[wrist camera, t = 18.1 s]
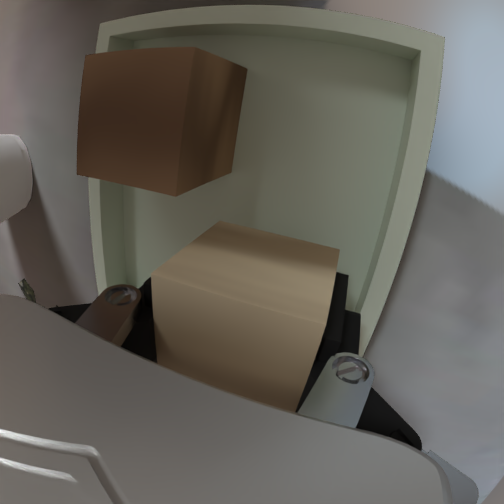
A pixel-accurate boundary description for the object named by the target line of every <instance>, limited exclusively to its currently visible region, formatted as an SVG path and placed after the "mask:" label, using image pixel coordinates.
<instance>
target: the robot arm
mask: <svg viewBox="0 0 504 504" xmlns="http://www.w3.org/2000/svg"><path fill="white" fill-rule="evenodd" d="M348 279H349V275H346V274H343V273H339V272H336V276H335V282H334V287H333V293H332V298H331V303H330V308H329V313H328V318H327V323H326V327H325V330H324V333H323V336H322V339H321V342H320V345H319V348H318V351H317V354H316V357H315V360H314V362H313V365H312V368H311V371H310V374H309V376H308V379H307V382H306V384H305V387H304V390H303V392H302V395H301V398H300V400H299V403H298V405H297V408H296V411H295V412H292V411H288V410H285V409H281V408H278V407H274V406H271V405H268V404H265V403H261V402H258V401H255V400H252V399H249V398H246V397H243V396H240V395H237V394H234V393H231V392H228V391H226V390H223V389H220V388H217V387H215V386H212V385H209V384H206V383H204V382H201V381H199V380H196V379H193V378H191V377H188V376H186V375H183V374H181V373H178V372H176V371H174V370H171V369H169V368H166V367H164V366H162V365H159V364H158V363H157V354H156V343H155V331H154V318H153V304H152V286H151V277H150V278H148V279H147V280H146V281H145V282H144V284H143V285H142V286H141V287H140V288H136V287H134V286H131V285H126V284H118V285H113V286H110V287H108V288H106V289H105V290H104V291H103V292H102V293H101V294H100V295H99V296H98V297H97V298H96V299H95V301H94V302H93V303H89V304H81V305H72V306H63V307H54V308H49V309H47V308H45V307H43V306H41V305H39V304H37V303H35V302H33V301H30V300H28V299H25V298H22V297H18V296H13V295H7V294H0V504H476V503H477V500H478V497H479V493H478V488H477V486H476V484H475V482H474V481H473V480H472V479H470V478H469V477H467V476H466V475H465V474H463V473H462V472H460V471H459V470H457V469H456V468H455V467H453V466H452V465H450V464H449V463H448V462H446V461H445V460H443V459H442V458H441V457H439V456H438V455H436V454H435V453H434V452H432V451H431V450H430V451H429V452H428V453H427V452H425V451H424V450H423V449H422V443H421V440H420V437H419V436H418V434H417V433H416V432H415V431H414V430H413V429H412V428H411V427H410V426H409V425H408V424H407V423H406V422H405V421H404V420H403V419H402V418H401V417H400V416H399V414H398V413H397V412H396V411H395V410H394V409H393V408H392V407H391V406H390V405H389V404H388V403H387V402H386V401H385V400H384V399H383V398H382V397H381V396H380V395H379V394H378V393H377V392H376V391H375V390H374V389H373V388H372V387H371V386H372V383H373V380H374V374H375V373H374V369H373V367H372V366H371V364H370V363H369V362H368V361H367V360H366V359H365V358H363V357H361V356H359V342H360V325H361V314H360V313H357V312H353V311H349V310H345V307H346V298H347V289H348Z"/></svg>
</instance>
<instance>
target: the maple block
mask: <svg viewBox="0 0 504 504" xmlns="http://www.w3.org/2000/svg"><path fill="white" fill-rule="evenodd" d="M339 253H340V249H336V248H332V247H328V246H324V245H320V244H316V243H312V242H308V241H304V240H300V239H296V238H291V237H287V236H283V235H279V234H275V233H271V232H266V231H262V230H258V229H254V228H249V227H245V226H241V225H236V224H232V223H228V222H223V221H219V222H217V223H216V224H215V225H213V226H212V227H211V228H209V229H208V230H207V231H205V232H204V233H203V234H201V235H200V236H199V237H197V238H196V239H195V240H193V241H192V242H191V243H189V244H188V245H187V246H186V247H184V248H183V249H182V250H180V251H179V252H178V253H176V254H175V255H174V256H173V257H171V258H170V259H169V260H167V261H166V262H165V263H164V264H162V265H161V266H160V267H158V268H157V269H156V270H155V271H153V272H152V273H151V286H152V304H153V318H154V331H155V343H156V354H157V363H158V364H159V365H162V366H164V367H166V368H169V369H171V370H174V371H176V372H178V373H181V374H183V375H186V376H188V377H191V378H193V379H196V380H199V381H201V382H204V383H206V384H209V385H212V386H215V387H217V388H220V389H223V390H226V391H228V392H231V393H234V394H237V395H240V396H243V397H246V398H249V399H252V400H255V401H258V402H261V403H265V404H268V405H271V406H274V407H278V408H281V409H285V410H288V411H292V412H295V411H296V408H297V405H298V403H299V400H300V398H301V395H302V392H303V390H304V387H305V384H306V382H307V379H308V376H309V374H310V371H311V368H312V365H313V362H314V360H315V357H316V354H317V351H318V348H319V345H320V342H321V339H322V336H323V333H324V330H325V327H326V323H327V318H328V313H329V308H330V303H331V298H332V293H333V287H334V282H335V276H336V270H337V265H338V259H339Z"/></svg>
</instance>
